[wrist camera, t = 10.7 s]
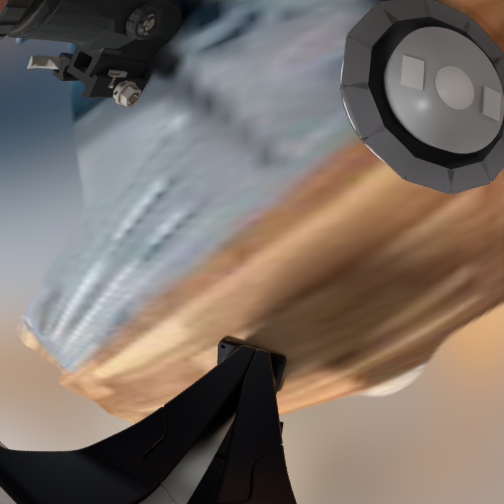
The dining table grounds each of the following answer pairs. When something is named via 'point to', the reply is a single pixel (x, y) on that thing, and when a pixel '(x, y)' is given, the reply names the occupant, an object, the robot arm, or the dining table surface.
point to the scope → (96, 40)
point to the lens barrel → (377, 115)
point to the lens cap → (443, 91)
